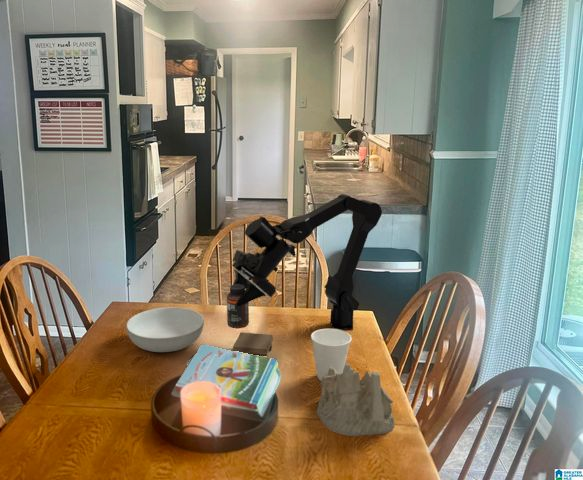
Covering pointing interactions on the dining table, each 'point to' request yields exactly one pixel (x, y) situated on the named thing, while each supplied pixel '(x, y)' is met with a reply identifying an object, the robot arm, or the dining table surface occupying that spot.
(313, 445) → the dining table surface
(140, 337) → the serving bowl
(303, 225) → the robot arm
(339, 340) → the cup
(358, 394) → the grey castle model
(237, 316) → the supplement bottle
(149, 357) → the dining table surface
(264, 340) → the dark brown coaster
